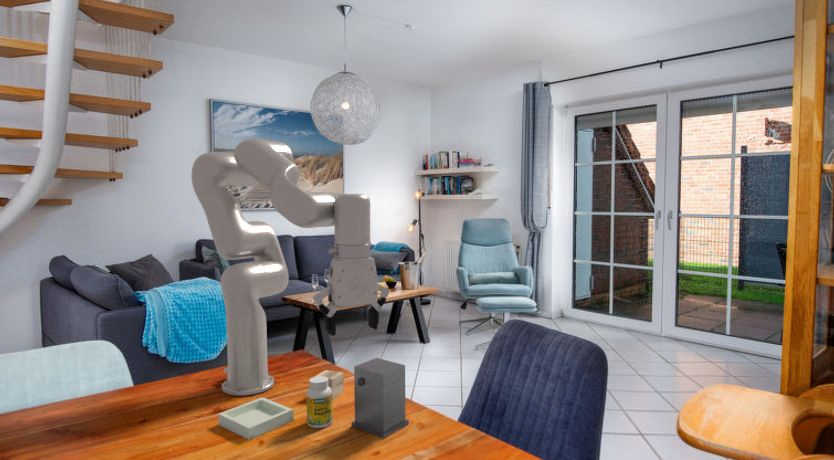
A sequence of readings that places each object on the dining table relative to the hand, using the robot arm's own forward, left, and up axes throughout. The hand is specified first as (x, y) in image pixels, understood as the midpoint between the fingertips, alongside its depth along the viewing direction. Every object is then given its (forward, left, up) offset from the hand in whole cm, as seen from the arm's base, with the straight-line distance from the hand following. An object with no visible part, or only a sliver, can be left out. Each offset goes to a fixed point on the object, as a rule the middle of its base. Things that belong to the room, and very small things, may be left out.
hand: (352, 330), depth 109 cm
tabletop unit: (+7, +1, -19) cm, 21 cm away
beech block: (-14, +6, -19) cm, 25 cm away
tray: (-15, -14, -19) cm, 28 cm away
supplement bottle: (-4, -6, -20) cm, 21 cm away
